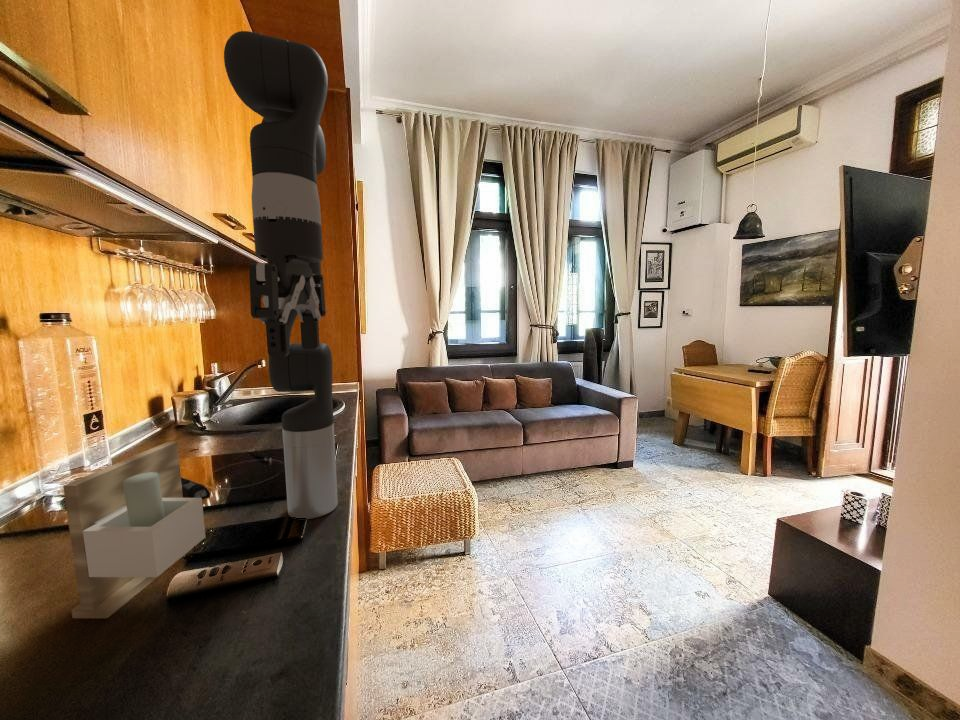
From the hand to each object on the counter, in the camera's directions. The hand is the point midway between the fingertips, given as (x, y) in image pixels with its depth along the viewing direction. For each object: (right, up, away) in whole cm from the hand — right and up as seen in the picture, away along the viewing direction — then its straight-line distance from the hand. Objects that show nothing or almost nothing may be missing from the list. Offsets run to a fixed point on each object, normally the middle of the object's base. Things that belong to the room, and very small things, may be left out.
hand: (296, 352), depth 49 cm
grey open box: (-22, -28, +4) cm, 36 cm away
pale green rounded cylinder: (-21, -27, +3) cm, 34 cm away
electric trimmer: (-41, -30, +35) cm, 62 cm away
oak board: (-27, -33, +8) cm, 44 cm away
